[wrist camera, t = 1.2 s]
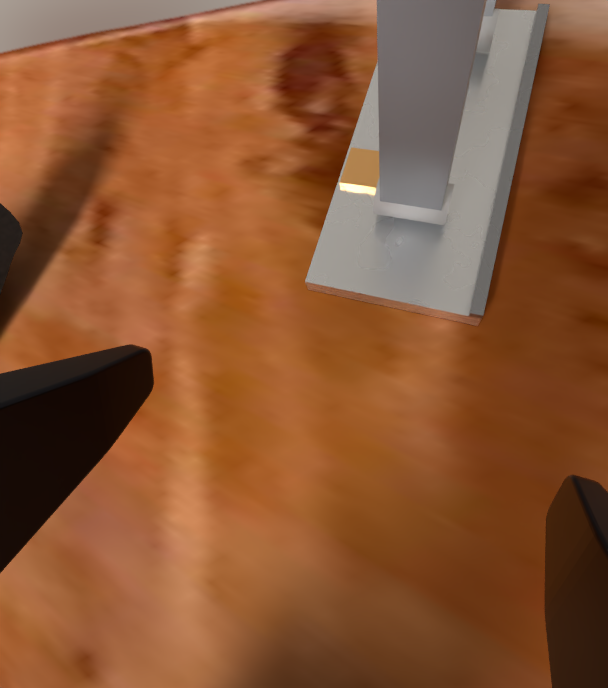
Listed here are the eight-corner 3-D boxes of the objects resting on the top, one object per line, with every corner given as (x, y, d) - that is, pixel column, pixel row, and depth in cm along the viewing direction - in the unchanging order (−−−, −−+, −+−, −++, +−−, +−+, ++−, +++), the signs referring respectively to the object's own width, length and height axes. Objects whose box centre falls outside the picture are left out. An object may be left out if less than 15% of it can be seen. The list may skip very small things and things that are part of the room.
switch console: (477, 326, 22) (483, 315, 21) (307, 289, 24) (303, 278, 23) (541, 27, 27) (549, 4, 26) (396, 19, 29) (396, -3, 28)
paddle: (442, 233, 23) (514, -78, 10) (373, 221, 24) (361, -79, 11) (450, 200, 23) (528, -136, 11) (383, 190, 24) (381, -131, 12)
